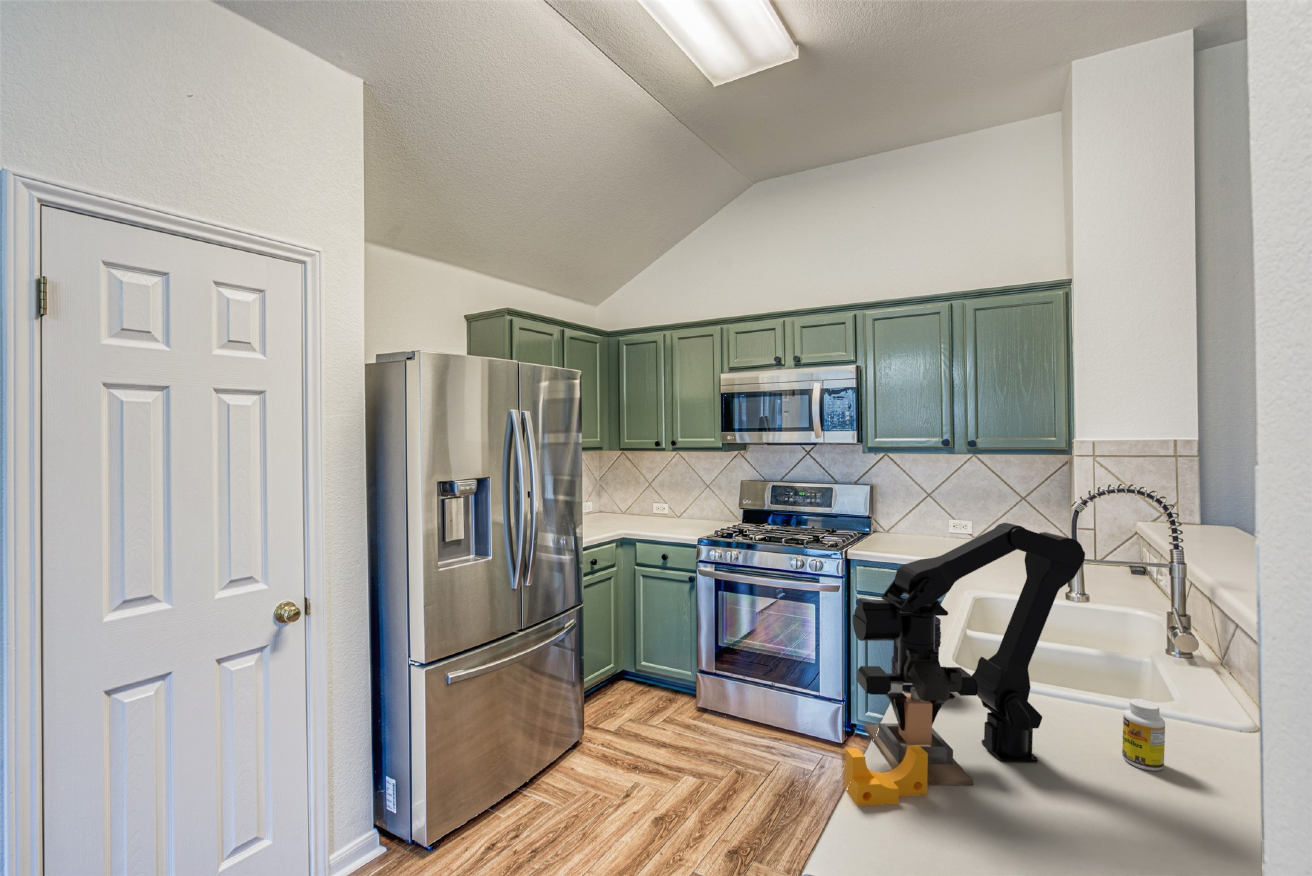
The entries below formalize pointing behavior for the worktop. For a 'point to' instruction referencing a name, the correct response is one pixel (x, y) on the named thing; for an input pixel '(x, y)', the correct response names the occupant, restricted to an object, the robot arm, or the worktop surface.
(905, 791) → the pipe clamp
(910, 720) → the connector
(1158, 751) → the supplement bottle
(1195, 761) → the worktop surface
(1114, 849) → the worktop surface
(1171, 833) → the worktop surface
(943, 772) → the end holder
